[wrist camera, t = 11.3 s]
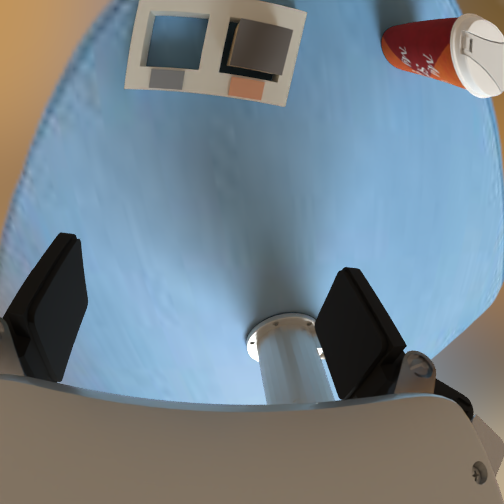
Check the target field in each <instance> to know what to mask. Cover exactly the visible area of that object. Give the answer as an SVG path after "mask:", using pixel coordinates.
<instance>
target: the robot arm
mask: <svg viewBox="0 0 504 504" xmlns="http://www.w3.org/2000/svg"><path fill="white" fill-rule="evenodd" d="M87 305H88V297H87V290H86V283H85V276H84V268H83V259H82V249H81V241H80V239H77V237H76V235H75V234H69V233H59V234H58V236H57V237H56V238H55V239H54V241H53V242H52V244H51V245H50V246H49V248H48V249H47V250H46V252H45V253H44V255H43V256H42V257H41V259H40V260H39V262H38V263H37V265H36V266H35V267H34V269H33V270H32V271H31V273H30V274H29V276H28V277H27V279H26V280H25V282H24V283H23V285H22V286H21V288H20V290H19V291H18V293H17V294H16V296H15V298H14V299H13V301H12V303H11V304H10V306H9V308H8V309H7V311H6V313H5V315H4V316H3V318H1V317H0V504H504V502H503V499H502V495H501V492H500V489H499V486H498V483H497V480H496V478H495V477H496V474H497V472H498V470H499V467H500V465H501V462H502V459H503V457H504V443H503V441H502V440H501V438H500V437H499V436H498V435H497V434H496V433H495V432H494V431H493V430H492V429H491V428H490V427H489V426H488V425H486V423H484V422H483V420H482V419H480V418H479V417H478V416H477V415H474V416H473V407H472V405H471V402H470V400H469V399H468V398H467V397H465V396H464V395H463V394H461V393H459V392H458V391H456V390H454V389H453V388H451V387H449V386H448V385H446V384H444V383H443V382H441V381H439V380H437V379H436V369H435V366H434V364H433V362H432V361H431V360H430V359H429V358H428V357H427V356H426V355H425V354H423V353H421V352H418V351H408V352H407V353H406V354H405V353H404V351H403V350H404V348H405V347H406V346H407V345H406V344H405V342H404V340H403V338H402V337H401V335H400V333H399V332H398V330H397V328H396V326H395V325H394V323H393V321H392V320H391V318H390V316H389V315H388V313H387V311H386V310H385V308H384V307H383V305H382V303H381V302H380V300H379V299H378V297H377V295H376V294H375V292H374V291H373V289H372V287H371V286H370V284H369V283H368V281H367V280H366V278H365V277H364V275H363V273H362V272H361V270H360V269H357V268H349V267H345V268H343V269H342V270H341V271H339V272H338V273H337V276H336V278H335V280H334V282H333V285H332V287H331V289H330V291H329V293H328V295H327V298H326V300H325V302H324V304H323V306H322V308H321V310H320V312H319V314H318V317H317V319H316V320H315V319H314V318H312V317H311V316H308V315H305V314H300V313H286V314H280V315H276V316H273V317H271V318H268V319H266V320H264V321H262V322H261V323H259V324H258V325H257V326H255V327H254V328H253V329H252V330H251V332H250V333H249V335H248V337H247V340H246V346H247V351H248V353H249V355H250V356H251V357H252V358H254V359H255V360H257V361H259V364H260V370H261V375H262V380H263V386H264V391H265V397H266V402H267V405H227V404H203V403H188V402H175V401H164V400H155V399H146V398H138V397H131V396H124V395H118V394H112V393H106V392H100V391H95V390H89V389H84V388H79V387H74V386H69V385H64V384H60V383H57V381H58V382H61V381H62V379H63V376H64V372H65V369H66V366H67V363H68V359H69V356H70V353H71V350H72V347H73V344H74V342H75V339H76V336H77V333H78V330H79V328H80V325H81V322H82V319H83V317H84V314H85V312H86V309H87ZM321 359H325V360H326V362H327V365H328V368H329V371H330V374H331V377H332V379H333V382H334V385H335V388H336V391H337V394H338V397H339V398H340V399H341V400H339V401H335V399H334V396H333V393H332V390H331V387H330V384H329V381H328V378H327V375H326V372H325V369H324V367H323V364H322V361H321Z"/></svg>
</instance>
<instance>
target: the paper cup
mask: <svg viewBox="0 0 504 504" xmlns="http://www.w3.org/2000/svg"><path fill="white" fill-rule="evenodd" d="M381 46H382V51H383V54H384V56H385V57H386V59H387V60H388V62H389V63H390V64H392V65H393V66H394V67H396V68H399V69H401V70H405V71H408V72H412V73H416V74H419V75H423V76H427V77H430V78H433V79H437V80H440V81H443V82H446V83H449V84H452V85H455V86H458V87H461V88H464V89H467V90H468V91H469V92H470V93H471V94H473V95H474V96H477V97H479V98H488V97H491V96H497V95H499V94H501V93H502V92H503V91H504V37H503V35H502V33H501V32H500V31H499V29H498V28H497V27H496V26H495V25H494V24H492V23H491V22H489V21H487V20H485V19H483V18H481V17H480V16H478V15H475V14H464V15H461V16H460V17H458V18H445V19H435V20H427V21H420V22H413V23H407V24H401V25H397V26H393V27H390V28H389V29H387V30H386V31H385V32H384V34H383V36H382V41H381Z"/></svg>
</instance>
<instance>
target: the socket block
mask: <svg viewBox="0 0 504 504" xmlns="http://www.w3.org/2000/svg"><path fill="white" fill-rule="evenodd" d="M306 15H307V12H304V11H301V10H297V9H293V8H290V7H286V6H282V5H277V4H273V3H268V2H264V1H259V0H139V5H138V9H137V14H136V18H135V23H134V28H133V33H132V39H131V45H130V51H129V57H128V64H127V71H126V78H125V86H124V89H146V90H165V91H178V92H190V93H200V94H208V95H216V96H224V97H231V98H238V99H244V100H250V101H256V102H262V103H267V104H272V105H277V106H282V107H285V105H286V101H287V97H288V93H289V88H290V84H291V80H292V75H293V71H294V67H295V62H296V58H297V54H298V49H299V45H300V41H301V37H302V32H303V28H304V24H305V19H306ZM155 16H177V17H192V18H203V19H209V21H208V26H207V31H206V35H205V40H204V45H203V50H202V55H201V60H200V66H199V70H193V69H182V68H168V67H147V66H146V65H147V58H148V52H149V46H150V41H151V36H152V30H153V25H154V21H155ZM241 18H243V19H249V20H254V21H258V22H263V23H267V24H272V25H276V26H280V27H284V28H288V29H291V30H293V33H292V37H291V41H290V45H289V49H288V53H287V57H286V61H285V65H284V69H283V73H282V75H276V74H273V76H272V81H268V80H263V79H257V78H252V77H246V76H240V75H233V74H227V73H219V69H220V64H221V59H222V54H223V49H224V44H225V39H226V35H227V30H228V26H229V22H234V23H239V22H240V20H241Z"/></svg>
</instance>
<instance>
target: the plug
mask: <svg viewBox="0 0 504 504" xmlns="http://www.w3.org/2000/svg"><path fill="white" fill-rule="evenodd" d="M292 33H293V30H291V29H288V28H284V27H280V26H276V25H272V24H267V23H263V22H258V21H254V20H249V19H243V18H241V20H240V22H239V24H238V25H237V27H236V29H235V31H234V35H233V39H232V43H231V48H230V52H229V56H228V61H227V65H226V66H231V67H237V68H243V69H248V70H253V71H258V72H263V73H270V74H276V75H282V73H283V69H284V65H285V61H286V57H287V53H288V49H289V45H290V41H291V37H292Z"/></svg>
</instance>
